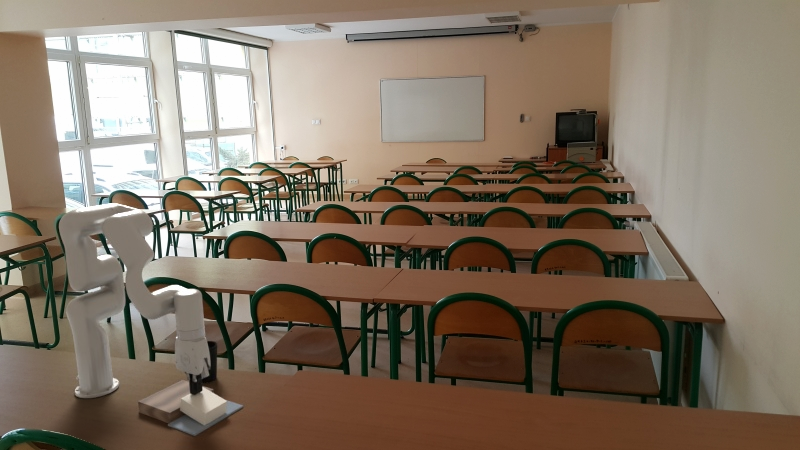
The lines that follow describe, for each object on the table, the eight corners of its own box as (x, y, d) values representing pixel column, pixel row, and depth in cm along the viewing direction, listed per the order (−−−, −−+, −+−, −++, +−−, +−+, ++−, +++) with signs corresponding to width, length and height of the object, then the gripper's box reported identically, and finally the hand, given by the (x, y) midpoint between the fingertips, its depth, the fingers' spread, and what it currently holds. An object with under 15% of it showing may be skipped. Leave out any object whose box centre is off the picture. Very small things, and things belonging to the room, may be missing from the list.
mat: (167, 425, 163) (167, 424, 163) (217, 398, 178) (217, 397, 178) (194, 436, 157) (194, 434, 157) (243, 407, 172) (243, 405, 172)
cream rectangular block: (180, 410, 166) (180, 398, 165) (202, 398, 173) (203, 387, 172) (204, 425, 161) (205, 413, 160) (226, 412, 168) (227, 401, 167)
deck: (139, 412, 170) (137, 401, 170) (183, 389, 184) (182, 379, 183) (170, 424, 164) (169, 412, 163) (214, 400, 177) (213, 389, 176)
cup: (212, 385, 187) (209, 350, 184) (191, 383, 188) (187, 349, 186) (224, 375, 194) (221, 341, 192) (203, 373, 196) (200, 340, 193)
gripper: (162, 332, 165) (168, 392, 169) (198, 341, 158) (204, 404, 161) (184, 324, 172) (189, 381, 175) (219, 332, 164) (224, 392, 168)
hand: (196, 392), depth 168 cm, fingers closed
